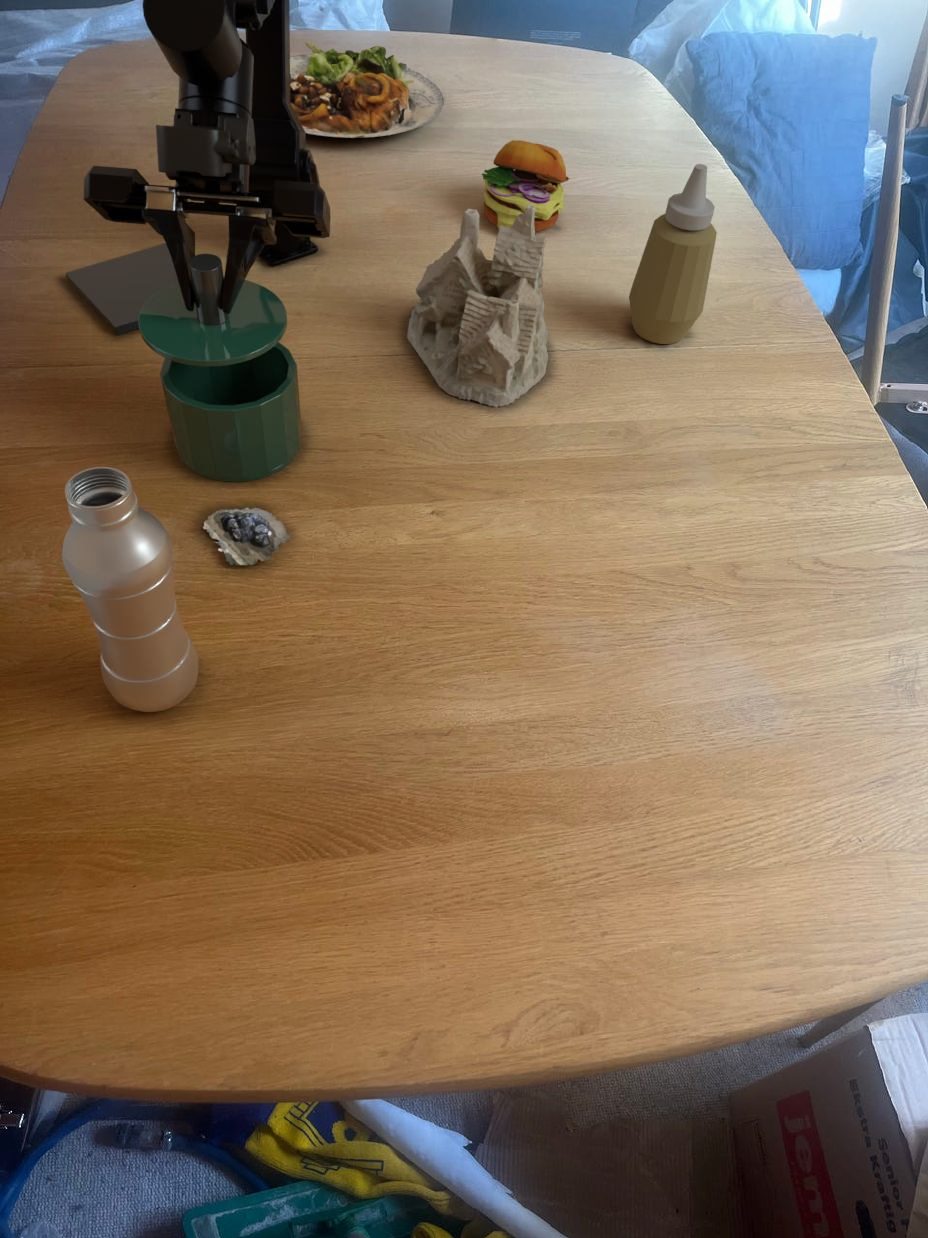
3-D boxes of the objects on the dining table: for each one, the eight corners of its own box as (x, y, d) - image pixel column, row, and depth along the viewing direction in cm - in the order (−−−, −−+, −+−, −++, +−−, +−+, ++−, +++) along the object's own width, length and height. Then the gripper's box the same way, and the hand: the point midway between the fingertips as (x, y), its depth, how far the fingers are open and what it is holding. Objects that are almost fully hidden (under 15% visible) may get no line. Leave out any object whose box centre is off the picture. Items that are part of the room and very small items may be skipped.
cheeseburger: (464, 226, 117) (477, 137, 111) (493, 210, 125) (506, 126, 119) (543, 246, 115) (560, 156, 109) (567, 228, 123) (584, 144, 117)
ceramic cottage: (436, 291, 107) (444, 161, 95) (571, 342, 104) (597, 214, 91) (366, 371, 98) (365, 239, 86) (510, 429, 95) (531, 301, 83)
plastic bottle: (116, 653, 73) (47, 450, 57) (207, 651, 73) (163, 450, 58) (103, 725, 69) (24, 526, 53) (200, 722, 69) (150, 525, 54)
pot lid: (158, 283, 85) (145, 216, 80) (296, 293, 86) (292, 228, 81) (124, 367, 78) (108, 299, 73) (276, 378, 78) (270, 311, 73)
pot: (188, 398, 93) (174, 326, 86) (307, 405, 93) (302, 333, 87) (165, 479, 85) (148, 406, 79) (294, 485, 86) (288, 413, 80)
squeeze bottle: (703, 322, 107) (752, 160, 93) (683, 360, 102) (731, 195, 88) (635, 301, 109) (673, 139, 95) (612, 337, 104) (648, 172, 90)
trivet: (168, 250, 109) (167, 242, 108) (221, 300, 103) (220, 292, 103) (67, 280, 104) (64, 272, 103) (117, 335, 98) (115, 327, 97)
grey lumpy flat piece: (253, 581, 78) (251, 565, 77) (179, 540, 81) (175, 523, 79) (305, 533, 82) (303, 517, 81) (232, 495, 85) (230, 479, 83)
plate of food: (360, 54, 148) (360, 9, 143) (483, 121, 136) (487, 75, 131) (204, 96, 135) (198, 48, 130) (325, 174, 123) (323, 125, 118)
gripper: (58, 54, 69) (53, 278, 70) (319, 76, 69) (309, 297, 71) (110, 118, 80) (105, 311, 81) (335, 137, 81) (325, 327, 82)
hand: (207, 311), depth 79 cm, fingers closed on pot lid, 3 cm apart
